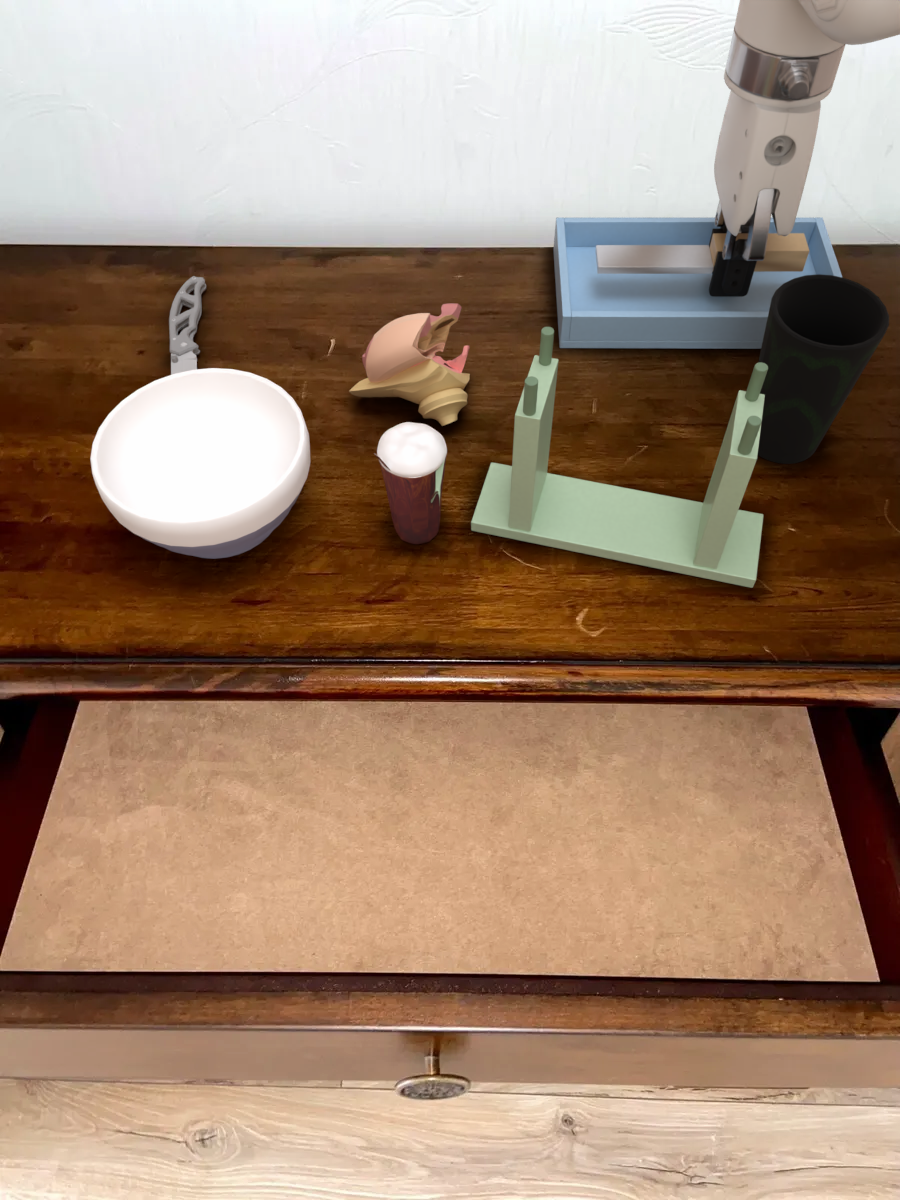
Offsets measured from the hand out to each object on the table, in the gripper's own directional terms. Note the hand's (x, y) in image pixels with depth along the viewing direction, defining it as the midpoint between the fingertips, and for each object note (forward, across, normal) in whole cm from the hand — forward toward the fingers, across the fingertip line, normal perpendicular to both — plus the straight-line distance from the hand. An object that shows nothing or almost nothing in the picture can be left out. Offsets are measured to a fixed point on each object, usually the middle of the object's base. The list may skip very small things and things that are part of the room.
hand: (725, 281), depth 81 cm
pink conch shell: (+2, -12, +26) cm, 29 cm away
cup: (+2, -17, -2) cm, 17 cm away
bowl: (+2, -25, +40) cm, 47 cm away
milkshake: (+2, -26, +26) cm, 37 cm away
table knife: (-2, 0, +3) cm, 3 cm away
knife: (+2, -7, +45) cm, 46 cm away
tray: (+2, 0, +3) cm, 3 cm away
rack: (+2, -26, +11) cm, 28 cm away
